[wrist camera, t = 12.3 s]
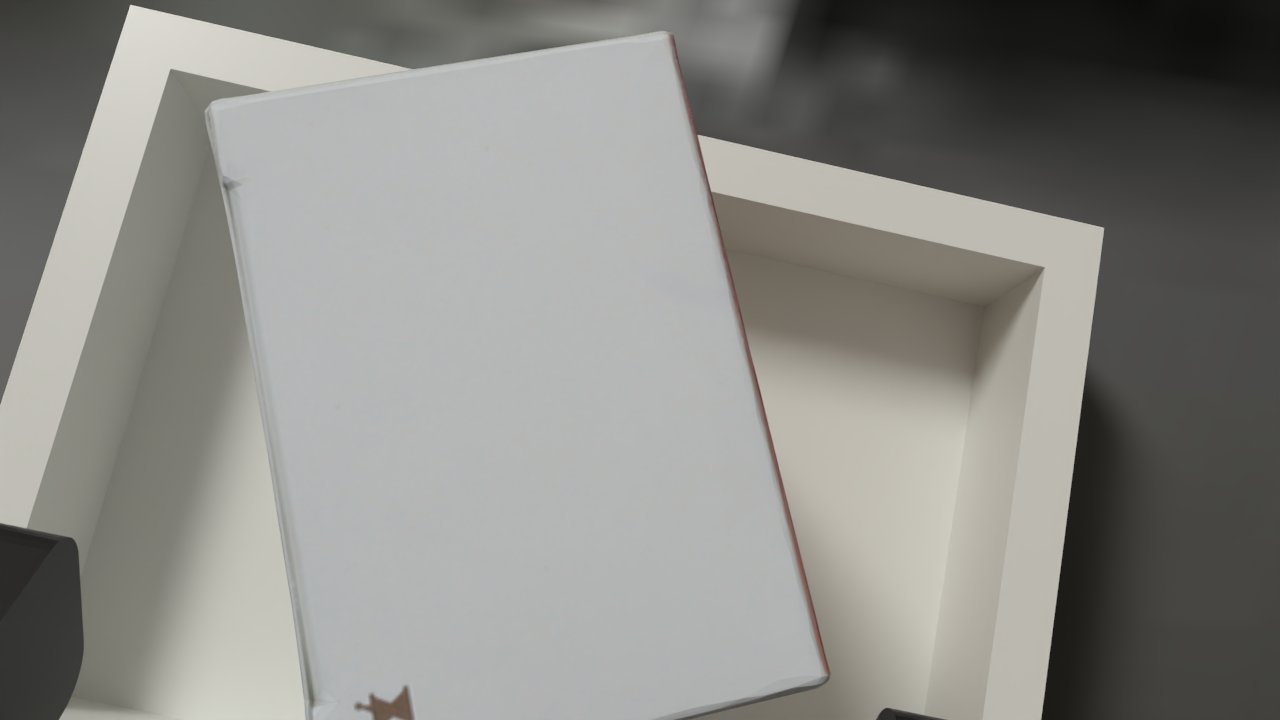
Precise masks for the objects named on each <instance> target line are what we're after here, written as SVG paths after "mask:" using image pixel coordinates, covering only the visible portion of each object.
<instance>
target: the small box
mask: <svg viewBox="0 0 1280 720" xmlns="http://www.w3.org/2000/svg"><path fill="white" fill-rule="evenodd" d="M205 121H206V128H207V132H208V136H209V140H210V144H211V147H212V151H213V155H214V160H215V165H216V169H217V174H218V178H219V183H220V187H221V191H222V196H223V200H224V205H225V210H226V215H227V220H228V225H229V230H230V236H231V241H232V246H233V252H234V257H235V263H236V268H237V274H238V279H239V285H240V290H241V297H242V303H243V309H244V315H245V321H246V327H247V334H248V340H249V346H250V353H251V359H252V365H253V371H254V377H255V383H256V389H257V395H258V400H259V406H260V412H261V418H262V424H263V429H264V435H265V441H266V447H267V453H268V459H269V465H270V472H271V478H272V484H273V491H274V497H275V504H276V510H277V516H278V523H279V529H280V535H281V542H282V548H283V555H284V561H285V567H286V573H287V579H288V585H289V592H290V598H291V604H292V612H293V619H294V626H295V633H296V640H297V648H298V655H299V663H300V671H301V680H302V688H303V696H304V705H305V717H306V720H689V719H693V718H697V717H701V716H705V715H709V714H713V713H717V712H721V711H726V710H730V709H734V708H738V707H742V706H746V705H750V704H754V703H758V702H762V701H767V700H771V699H775V698H779V697H783V696H787V695H791V694H795V693H800V692H804V691H808V690H812V689H816V688H819V687H820V686H822V685H824V684H825V683H826V682H827V681H828V680H829V678H830V674H831V673H830V670H829V666H828V663H827V659H826V656H825V652H824V648H823V644H822V640H821V635H820V631H819V627H818V623H817V619H816V615H815V611H814V607H813V603H812V599H811V594H810V590H809V586H808V582H807V578H806V574H805V570H804V566H803V562H802V558H801V554H800V550H799V546H798V542H797V538H796V534H795V530H794V526H793V522H792V518H791V514H790V510H789V506H788V502H787V498H786V494H785V490H784V486H783V482H782V478H781V474H780V470H779V466H778V462H777V457H776V453H775V449H774V445H773V441H772V437H771V433H770V429H769V425H768V421H767V416H766V412H765V408H764V404H763V400H762V396H761V392H760V388H759V384H758V380H757V376H756V372H755V368H754V364H753V361H752V357H751V353H750V349H749V345H748V340H747V336H746V332H745V328H744V324H743V319H742V315H741V311H740V307H739V303H738V299H737V295H736V291H735V287H734V283H733V279H732V275H731V271H730V267H729V263H728V259H727V255H726V251H725V247H724V243H723V239H722V235H721V230H720V226H719V222H718V218H717V214H716V210H715V206H714V202H713V197H712V193H711V189H710V185H709V181H708V177H707V173H706V169H705V164H704V160H703V156H702V152H701V148H700V144H699V139H698V135H697V132H696V128H695V124H694V120H693V116H692V113H691V109H690V105H689V101H688V97H687V93H686V89H685V85H684V81H683V77H682V73H681V68H680V64H679V60H678V56H677V50H676V44H675V40H674V35H673V34H672V33H670V32H665V31H659V32H653V33H647V34H641V35H635V36H628V37H622V38H615V39H609V40H602V41H596V42H589V43H583V44H576V45H570V46H563V47H556V48H550V49H543V50H537V51H530V52H524V53H517V54H511V55H504V56H498V57H491V58H485V59H478V60H472V61H465V62H459V63H452V64H446V65H439V66H433V67H426V68H420V69H413V70H407V71H400V72H394V73H387V74H381V75H374V76H368V77H361V78H355V79H348V80H342V81H336V82H329V83H323V84H316V85H310V86H304V87H297V88H291V89H284V90H278V91H272V92H265V93H259V94H252V95H246V96H239V97H231V98H224V99H219V100H216V101H213V102H211V103H210V105H209V106H208V107H207V108H206V110H205Z"/></svg>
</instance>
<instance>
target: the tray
mask: <svg viewBox="0 0 1280 720" xmlns="http://www.w3.org/2000/svg"><path fill="white" fill-rule="evenodd" d="M407 70H412V69H408V68H404V67H399V66H395V65H391V64H386V63H382V62H378V61H373V60H369V59H364V58H360V57H356V56H351V55H347V54H343V53H338V52H334V51H330V50H325V49H321V48H316V47H312V46H308V45H303V44H299V43H295V42H290V41H286V40H282V39H277V38H273V37H268V36H264V35H260V34H255V33H251V32H247V31H242V30H238V29H233V28H229V27H225V26H220V25H216V24H212V23H207V22H203V21H199V20H194V19H190V18H185V17H181V16H177V15H172V14H168V13H164V12H159V11H155V10H151V9H146V8H142V7H137V6H133V5H130V8H129V11H128V14H127V17H126V20H125V23H124V26H123V29H122V33H121V36H120V39H119V42H118V45H117V48H116V51H115V54H114V57H113V60H112V63H111V66H110V69H109V73H108V76H107V79H106V82H105V85H104V88H103V91H102V94H101V97H100V100H99V103H98V106H97V109H96V113H95V116H94V119H93V122H92V125H91V128H90V131H89V134H88V137H87V140H86V143H85V146H84V149H83V153H82V156H81V159H80V162H79V165H78V168H77V171H76V174H75V177H74V180H73V183H72V186H71V189H70V193H69V196H68V199H67V202H66V205H65V208H64V211H63V214H62V217H61V220H60V223H59V226H58V229H57V233H56V236H55V239H54V242H53V245H52V248H51V251H50V254H49V257H48V260H47V263H46V266H45V269H44V273H43V276H42V279H41V282H40V285H39V288H38V291H37V294H36V297H35V300H34V303H33V306H32V309H31V313H30V316H29V319H28V322H27V325H26V328H25V331H24V334H23V337H22V340H21V343H20V346H19V349H18V353H17V356H16V359H15V362H14V365H13V368H12V371H11V374H10V377H9V380H8V383H7V386H6V389H5V393H4V396H3V399H2V402H1V405H0V523H3V524H8V525H12V526H17V527H22V528H27V529H32V530H37V531H42V532H47V533H51V534H56V535H61V536H66V537H71V538H73V539H74V540H75V542H76V544H77V547H78V553H79V568H80V585H81V602H82V619H83V636H84V652H83V659H82V665H81V669H80V673H79V676H78V680H77V683H76V686H75V689H74V691H73V694H72V696H71V698H70V700H69V703H68V705H67V707H66V708H65V710H64V712H63V714H62V715H61V717H60V719H59V720H306V717H305V705H304V696H303V688H302V680H301V671H300V663H299V655H298V648H297V640H296V633H295V626H294V619H293V612H292V604H291V598H290V592H289V585H288V579H287V573H286V567H285V561H284V555H283V548H282V542H281V535H280V529H279V523H278V516H277V510H276V504H275V497H274V491H273V484H272V478H271V472H270V465H269V459H268V453H267V447H266V441H265V435H264V429H263V424H262V418H261V412H260V406H259V400H258V395H257V389H256V383H255V377H254V371H253V365H252V359H251V353H250V346H249V340H248V334H247V327H246V321H245V315H244V309H243V303H242V297H241V290H240V285H239V279H238V274H237V268H236V263H235V257H234V252H233V246H232V241H231V236H230V230H229V225H228V220H227V215H226V210H225V205H224V200H223V196H222V191H221V187H220V183H219V178H218V174H217V169H216V165H215V160H214V155H213V151H212V147H211V144H210V140H209V136H208V132H207V128H206V121H205V110H206V108H207V107H208V106H209V105H210V103H211V102H213V101H216V100H219V99H224V98H231V97H239V96H246V95H252V94H259V93H265V92H272V91H278V90H284V89H291V88H297V87H304V86H310V85H316V84H323V83H329V82H336V81H342V80H348V79H355V78H361V77H368V76H374V75H381V74H387V73H394V72H400V71H407ZM698 139H699V144H700V148H701V152H702V156H703V160H704V164H705V169H706V173H707V177H708V181H709V185H710V189H711V193H712V197H713V202H714V206H715V210H716V214H717V218H718V222H719V226H720V230H721V235H722V239H723V243H724V247H725V251H726V255H727V259H728V263H729V267H730V271H731V275H732V279H733V283H734V287H735V291H736V295H737V299H738V303H739V307H740V311H741V315H742V319H743V324H744V328H745V332H746V336H747V340H748V345H749V349H750V353H751V357H752V361H753V364H754V368H755V372H756V376H757V380H758V384H759V388H760V392H761V396H762V400H763V404H764V408H765V412H766V416H767V421H768V425H769V429H770V433H771V437H772V441H773V445H774V449H775V453H776V457H777V462H778V466H779V470H780V474H781V478H782V482H783V486H784V490H785V494H786V498H787V502H788V506H789V510H790V514H791V518H792V522H793V526H794V530H795V534H796V538H797V542H798V546H799V550H800V554H801V558H802V562H803V566H804V570H805V574H806V578H807V582H808V586H809V590H810V594H811V599H812V603H813V607H814V611H815V615H816V619H817V623H818V627H819V631H820V635H821V640H822V644H823V648H824V652H825V656H826V659H827V663H828V666H829V670H830V673H831V674H830V678H829V680H828V681H827V682H826V683H825V684H824V685H822V686H820V687H819V688H816V689H812V690H808V691H804V692H800V693H795V694H791V695H787V696H783V697H779V698H775V699H771V700H767V701H762V702H758V703H754V704H750V705H746V706H742V707H738V708H734V709H730V710H726V711H721V712H717V713H713V714H709V715H705V716H701V717H697V718H693V719H689V720H876V719H877V717H878V715H879V714H880V712H881V711H882V710H883V709H885V708H892V709H897V710H902V711H906V712H911V713H916V714H921V715H926V716H931V717H936V718H941V719H946V720H1041V718H1042V710H1043V702H1044V694H1045V686H1046V678H1047V671H1048V663H1049V655H1050V647H1051V639H1052V631H1053V624H1054V616H1055V608H1056V600H1057V592H1058V585H1059V577H1060V569H1061V561H1062V553H1063V545H1064V538H1065V530H1066V522H1067V514H1068V506H1069V498H1070V491H1071V483H1072V475H1073V467H1074V459H1075V452H1076V444H1077V436H1078V428H1079V420H1080V412H1081V405H1082V397H1083V389H1084V381H1085V373H1086V365H1087V358H1088V350H1089V342H1090V334H1091V326H1092V318H1093V311H1094V303H1095V295H1096V287H1097V279H1098V272H1099V264H1100V256H1101V248H1102V240H1103V232H1104V228H1102V227H1098V226H1094V225H1089V224H1085V223H1081V222H1076V221H1072V220H1067V219H1063V218H1059V217H1054V216H1050V215H1046V214H1041V213H1037V212H1032V211H1028V210H1024V209H1019V208H1015V207H1011V206H1006V205H1002V204H998V203H993V202H989V201H984V200H980V199H976V198H971V197H967V196H963V195H958V194H954V193H950V192H945V191H941V190H936V189H932V188H928V187H923V186H919V185H915V184H910V183H906V182H902V181H897V180H893V179H888V178H884V177H880V176H875V175H871V174H867V173H862V172H858V171H853V170H849V169H845V168H840V167H836V166H832V165H827V164H823V163H819V162H814V161H810V160H805V159H801V158H797V157H792V156H788V155H784V154H779V153H775V152H771V151H766V150H762V149H757V148H753V147H749V146H744V145H740V144H736V143H731V142H727V141H722V140H718V139H714V138H709V137H705V136H701V135H698Z"/></svg>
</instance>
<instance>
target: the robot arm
mask: <svg viewBox="0 0 1280 720" xmlns="http://www.w3.org/2000/svg"><path fill="white" fill-rule="evenodd" d="M83 652H84V636H83V619H82V602H81V585H80V568H79V553H78V547H77V544H76V542H75V540H74V539H73V538H71V537H66V536H61V535H56V534H51V533H47V532H42V531H37V530H32V529H27V528H22V527H17V526H12V525H8V524H3V523H0V720H59V719H60V717H61V715H62V714H63V712H64V710H65V708H66V707H67V705H68V703H69V700H70V698H71V696H72V694H73V691H74V689H75V686H76V683H77V680H78V676H79V673H80V669H81V665H82V659H83ZM876 720H946V719H941V718H936V717H931V716H926V715H921V714H916V713H911V712H906V711H902V710H897V709H892V708H885V709H883V710H882V711H881V712H880V714H879V715H878V717H877V719H876Z"/></svg>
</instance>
